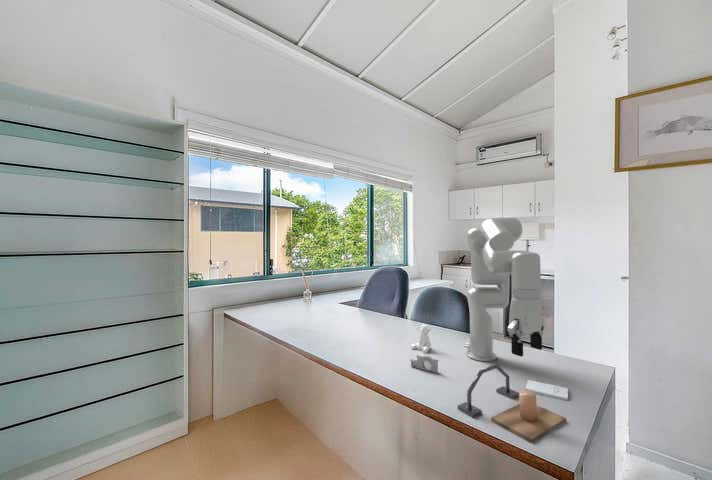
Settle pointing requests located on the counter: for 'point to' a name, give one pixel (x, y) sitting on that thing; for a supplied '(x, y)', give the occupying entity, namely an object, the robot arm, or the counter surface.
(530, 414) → the peach domed cylinder
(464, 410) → the grey cabinet handle
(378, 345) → the counter surface
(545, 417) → the walnut board
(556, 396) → the external hard drive
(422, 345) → the seated beast figurine
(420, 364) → the garden wall model
